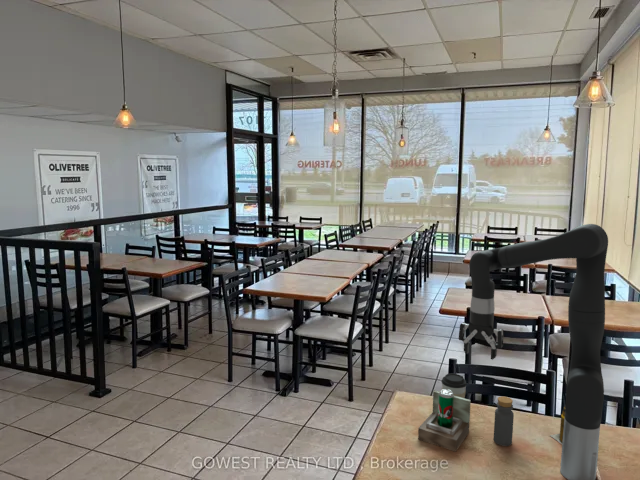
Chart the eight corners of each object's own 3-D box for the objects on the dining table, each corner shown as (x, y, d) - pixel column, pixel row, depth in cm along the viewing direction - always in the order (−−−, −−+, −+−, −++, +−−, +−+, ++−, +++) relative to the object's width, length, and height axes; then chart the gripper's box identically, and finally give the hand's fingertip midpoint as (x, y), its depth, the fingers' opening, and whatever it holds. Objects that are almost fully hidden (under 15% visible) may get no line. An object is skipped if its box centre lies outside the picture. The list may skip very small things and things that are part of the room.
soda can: (455, 424, 162) (456, 391, 160) (448, 430, 158) (450, 396, 156) (441, 419, 165) (442, 387, 163) (434, 425, 161) (436, 392, 160)
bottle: (513, 447, 156) (516, 404, 153) (494, 445, 157) (497, 402, 155) (510, 437, 161) (512, 396, 159) (492, 435, 162) (494, 394, 160)
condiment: (568, 449, 154) (571, 415, 153) (549, 435, 162) (551, 403, 161) (586, 445, 157) (589, 411, 155) (566, 432, 165) (569, 400, 163)
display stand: (469, 432, 164) (470, 400, 163) (455, 451, 153) (457, 417, 151) (433, 421, 172) (434, 390, 170) (418, 439, 160) (419, 405, 159)
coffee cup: (439, 418, 174) (441, 379, 172) (440, 406, 182) (442, 369, 180) (465, 422, 171) (467, 383, 169) (465, 410, 180) (466, 372, 178)
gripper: (457, 308, 159) (455, 354, 161) (501, 316, 151) (498, 364, 153) (464, 303, 165) (462, 348, 167) (507, 310, 157) (504, 357, 159)
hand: (479, 355), depth 160 cm, fingers open, 8 cm apart
